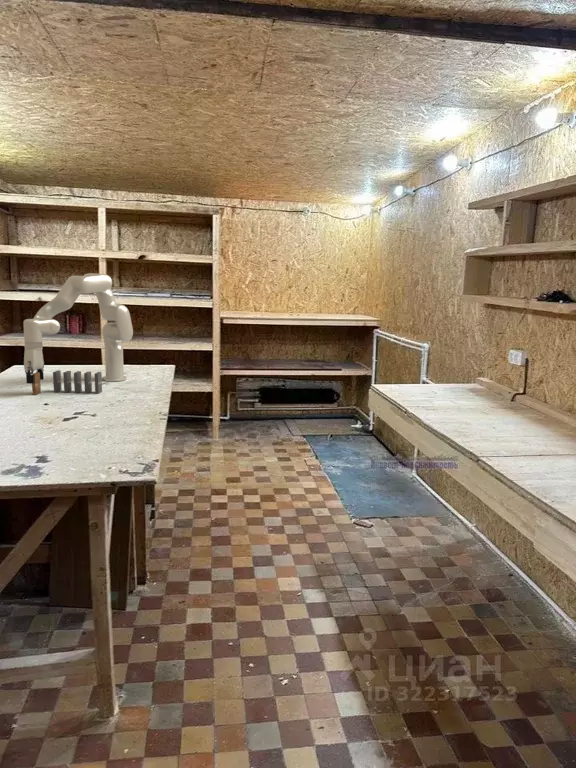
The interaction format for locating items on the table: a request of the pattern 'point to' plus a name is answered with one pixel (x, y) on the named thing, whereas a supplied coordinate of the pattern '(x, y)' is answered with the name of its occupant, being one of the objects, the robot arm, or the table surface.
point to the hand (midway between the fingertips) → (35, 381)
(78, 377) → the domino
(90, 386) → the domino
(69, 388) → the domino
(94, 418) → the table surface
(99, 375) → the domino
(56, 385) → the domino
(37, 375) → the domino
